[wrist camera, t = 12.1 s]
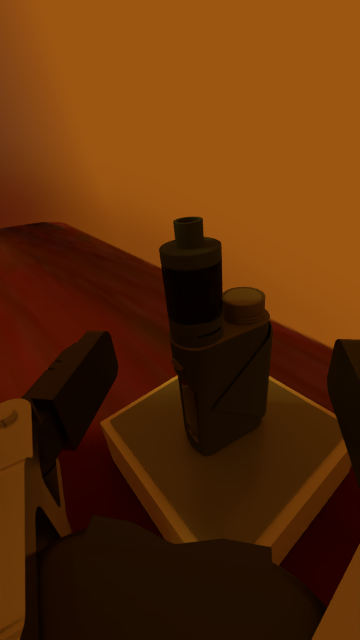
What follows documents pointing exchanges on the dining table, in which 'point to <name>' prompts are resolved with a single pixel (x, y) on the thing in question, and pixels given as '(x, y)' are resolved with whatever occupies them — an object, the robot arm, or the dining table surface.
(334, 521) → the dining table surface
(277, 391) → the riser
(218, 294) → the vaping device
